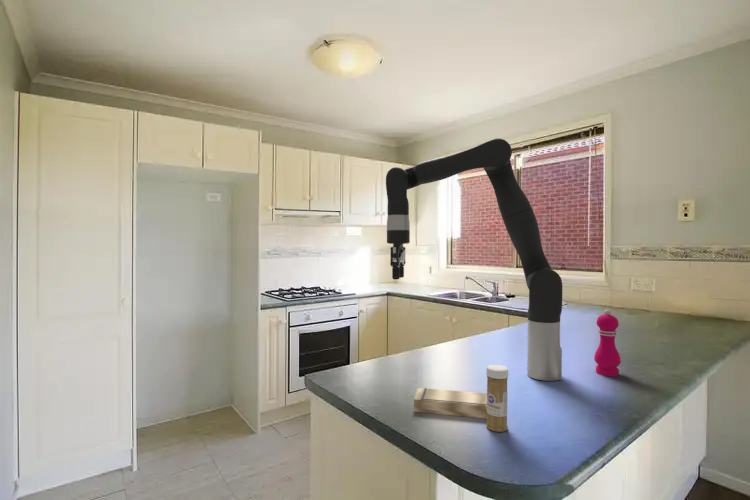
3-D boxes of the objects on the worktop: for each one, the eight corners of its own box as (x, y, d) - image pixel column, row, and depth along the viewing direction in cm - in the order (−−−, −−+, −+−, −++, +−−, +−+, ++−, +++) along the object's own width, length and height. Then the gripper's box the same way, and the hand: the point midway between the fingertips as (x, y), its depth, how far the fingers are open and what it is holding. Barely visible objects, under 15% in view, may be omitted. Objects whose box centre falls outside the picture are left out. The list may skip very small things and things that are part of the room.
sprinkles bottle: (482, 428, 88) (482, 367, 88) (491, 421, 92) (491, 362, 92) (503, 434, 85) (503, 371, 85) (511, 427, 89) (511, 366, 89)
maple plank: (498, 406, 101) (498, 393, 101) (500, 419, 93) (500, 406, 93) (418, 399, 105) (418, 387, 105) (413, 411, 97) (413, 398, 97)
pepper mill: (619, 371, 128) (619, 308, 128) (622, 378, 122) (622, 312, 122) (593, 368, 131) (593, 307, 131) (594, 375, 125) (595, 310, 125)
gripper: (406, 228, 125) (406, 280, 125) (412, 230, 139) (412, 277, 139) (382, 228, 127) (382, 280, 127) (391, 230, 141) (391, 276, 141)
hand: (398, 278), depth 133 cm, fingers open, 8 cm apart
